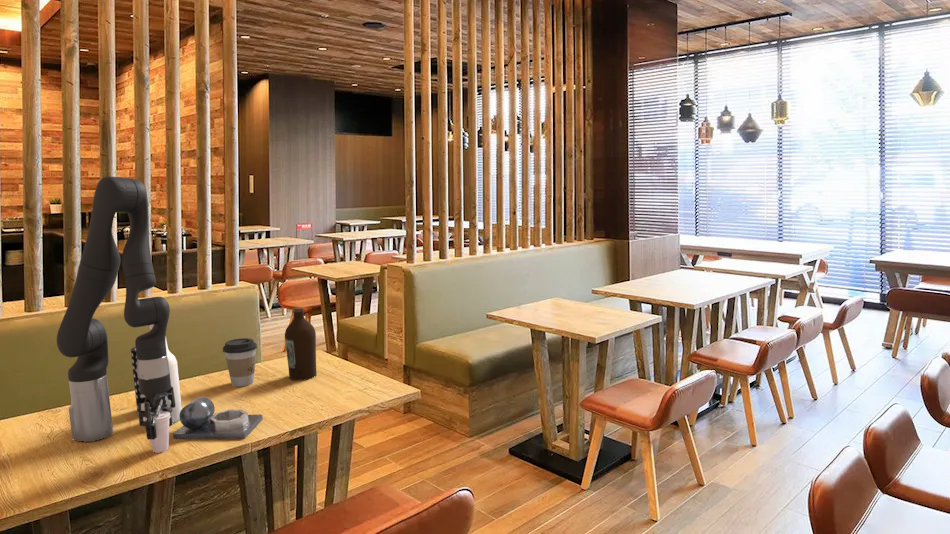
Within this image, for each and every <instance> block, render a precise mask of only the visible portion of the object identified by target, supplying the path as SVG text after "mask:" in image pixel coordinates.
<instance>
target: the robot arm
mask: <svg viewBox="0 0 950 534" xmlns="http://www.w3.org/2000/svg"><path fill="white" fill-rule="evenodd" d="M116 213H118V214H120V213H121V214H127V215H128V219H129V225H130V228H129V234H128V236H127V240H126V242H125V245H124V247H123V250H122V253H121V254H122V255H121V254H120V251H119V249H118V246H117V243H116V242H115V239H114V236H113V224H114V218H115V215H116ZM149 220H150V219H149V199H148V193H147V189H146V186H145V185H144V183H143V182H142V181H140V180H139V179H136V178H130V177H121V176H120V177H119V176H109V175H108V176H103V177H102V178H101V179H100V180H99V181H98V182H97V185H96V187H95V191H94V194H93V199H92V206H91V213H90V220H89V221H90V222H89V226H88V231H87V234H86V239H85V244H84V247H83V251H82V254H81V257H80V261H79V264H78V268H77V272H76V277H75V281H74V285H73V288H72V291H71V295H70V299H69V301H68V305H67V307H66V311H65V313H64V316H63V317H62V321H61V322H60V325H59V328H58V330H57V335H56V346H57V349H58V351H59V352H60V354H61V355H62V356H64V357H66V358H67V357H68V358H76V361H75V362H74V363H73V365H72V366H71V367H70V368H69V369H68V371H67V378H68V384H69V386H68V387H69V393H70V401H71V405H70V406H68V417H69V424H70V425H69V426H70V434H71V440H72V439H76V440H78V441H77V442H79V441H84V442H83V443H87V442H86V441H92V442H96V441H95V440H97V441H100V440H99V439H101V440H104V439H106V438H108V436H109V437H111V436H112V435H113V434H114V426H113V417H112V416H113V415H112V408H111V399H110V391H109V390H110V389H109V382H108V374H107V369H108V365H109V359H110V358H109V341H108V333H107V330H106V327H105V326H104V325H103V323H102V322H101V321H100V320H99V319H97V318H94V315H95V312H96V311H97V309H98V307H100V305H101V304H102V302H103V301H104V300H105V298H106V297H107V296H108V295H109V293H110V292H111V291H112V289H113V287H114V285H115V282H116V280H117V278H118V273H119V269H120V266H122V271H123V277H124V281H125V300H124V302H125V303H124V309H123V318H124V320H125V322H126V323H125V324H127V325H128V326H129V327H131V328H141V327H146V326H150V325H153V324H154V326H153V328H152V329H151V331H150V330H149V331H147V332H145V333H143V334H140V335H138V336H137V337H136V338H135V339H134V340H135V341H134V342H135V343H134V344H135V345H134V346H135V347H136V355H137V374H138V383H139V392H140V393H141V394H143V395H145V402H144V403H139V404H138V412H139V414H138V424H139V427H145V432H146V433H145V434H146V439H147V440H148V441H150V440H154V439H156V438H157V435H156V426H155V421H156V418H157V417H158V416H159V412H160V411H167V412H170V416H171V412H172V410H173V409H172V408H174V407H175V398H174V391H173V387H171V381H170V371H169V362H168V358H167V352H166V343H165V337H166V338H167V328H168V324H169V318H170V313H171V312H170V311H171V310H170V304H169V302H168V301H167V299H166V298H165V297H163V296H151V297H145V298H139V294H140V293H142V292H144V291H147V290H150V289H152V288H154V287H155V286H156V284H157V280H156V275H155V270H154V265H153V261H152V256H151V249H150V247H151V246H150V226H149V225H150V222H149ZM169 400H171V403H170V401H169ZM150 412H151V413H150ZM144 417H145V419H144ZM151 417H152V421H151ZM172 426H173V424H172V416H171V417H170V419H169V428H170V427H172ZM112 433H113V434H112ZM111 434H112V435H111ZM103 438H104V439H103ZM76 440H75V441H76Z"/></svg>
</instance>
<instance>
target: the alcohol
mask: <svg viewBox="0 0 950 534" xmlns="http://www.w3.org/2000/svg"><path fill="white" fill-rule="evenodd" d="M153 326H154V324H153V325H149V329H150V330H149V331H151V329H152V328H153ZM167 341H168V340H167V336H166V337H165V343H166V352H167V358H168V362H169V371H170V381H171V387H173V391H174V398H175V407H174V408H172V409H173V410H172V412H171V416H172V423H173V424H175V422H176V423H178V422H179V421H180V412H181V410H182V409H183V408H182V401H181V400H182V398H181V389H180V388H181V387H180V379H179V367H178V360H177V357H176V356H175V355H174V354H173V353H172V352H171V351H170V350H169V347H168V346H169V345H168V342H167ZM169 401H170V403H171V400H169ZM150 413H151V412H150ZM177 421H178V422H177Z"/></svg>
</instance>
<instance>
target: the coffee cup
mask: <svg viewBox="0 0 950 534" xmlns="http://www.w3.org/2000/svg"><path fill="white" fill-rule="evenodd" d="M257 348H258V344H257V342H255V341H254V339H253V338H251V337H250V338H249V337H243V338H242V337H240V338H234V339H233V338H232V339H230V340H227V341H226V342H224V345H223V347H222V353H224V356H225V357H224V358H225V360H226V365H227V370H228V374H229V379H230V383H231V385H232V386H233V387H237V388H239V387H240V388H241V387H246V386H251V385H252V384H254V381H255V370H256V369H255V368H256V355H257V354H256V352H257V351H256V350H257Z"/></svg>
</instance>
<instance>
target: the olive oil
mask: <svg viewBox="0 0 950 534" xmlns="http://www.w3.org/2000/svg"><path fill="white" fill-rule="evenodd" d="M293 316H294V317H293V320H292V321H291V322H290V323H289V324H288V326H286V328H285V332H284V341H285V342H284V343H285V351H286V357H287V358H286V359H287V365H288V366H287V367H288V376H289V379H290V380H294V381H303V380H304V379H306V380H310V379H309V378H311V379H313V378H315V377H316V376H317V348H316V347H317V345H316V343H317V339H316V337H317V334H316V329H315V328H314V326H313V325H312V323H311V322H310V321H308V320H307V319H306V318H305V311H304V307H303V306H295V307H294V308H293ZM314 376H315V377H314ZM312 377H313V378H312ZM304 381H305V380H304Z"/></svg>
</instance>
